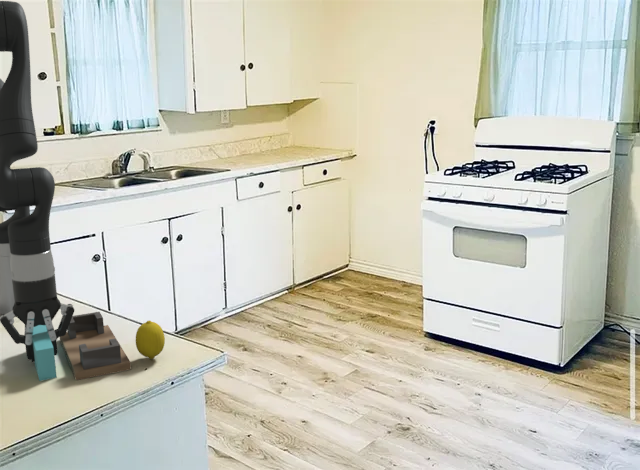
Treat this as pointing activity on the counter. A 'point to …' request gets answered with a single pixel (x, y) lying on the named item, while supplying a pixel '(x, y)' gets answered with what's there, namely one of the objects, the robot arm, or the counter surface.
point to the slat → (43, 353)
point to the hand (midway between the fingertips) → (42, 358)
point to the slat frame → (92, 347)
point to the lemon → (150, 339)
